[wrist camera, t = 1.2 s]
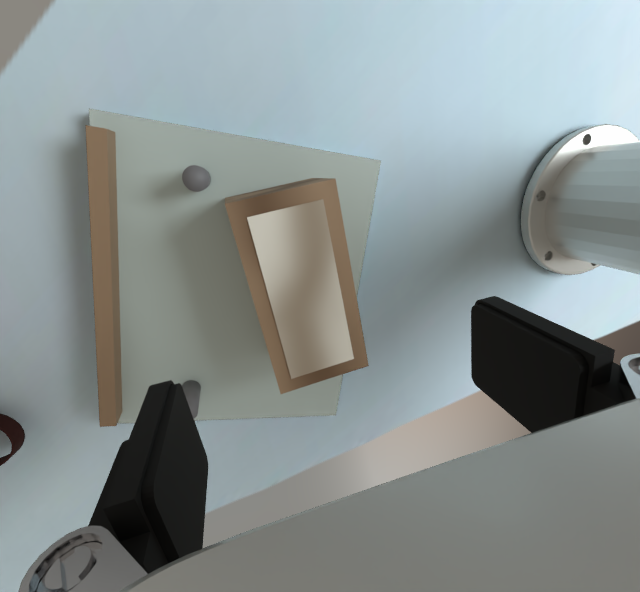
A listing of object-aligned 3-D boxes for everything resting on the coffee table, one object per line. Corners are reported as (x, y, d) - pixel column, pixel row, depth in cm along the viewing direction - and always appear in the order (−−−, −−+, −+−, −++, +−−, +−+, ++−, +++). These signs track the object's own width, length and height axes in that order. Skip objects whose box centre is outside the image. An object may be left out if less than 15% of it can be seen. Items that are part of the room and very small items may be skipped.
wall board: (374, 161, 26) (400, 158, 22) (331, 406, 32) (346, 438, 28) (96, 112, 21) (66, 97, 17) (107, 413, 27) (88, 453, 23)
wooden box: (312, 177, 24) (335, 178, 19) (343, 332, 28) (369, 366, 23) (224, 197, 23) (224, 204, 18) (270, 354, 27) (281, 395, 22)
